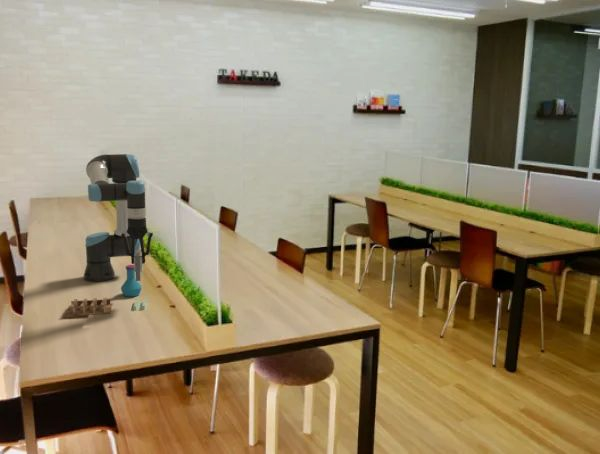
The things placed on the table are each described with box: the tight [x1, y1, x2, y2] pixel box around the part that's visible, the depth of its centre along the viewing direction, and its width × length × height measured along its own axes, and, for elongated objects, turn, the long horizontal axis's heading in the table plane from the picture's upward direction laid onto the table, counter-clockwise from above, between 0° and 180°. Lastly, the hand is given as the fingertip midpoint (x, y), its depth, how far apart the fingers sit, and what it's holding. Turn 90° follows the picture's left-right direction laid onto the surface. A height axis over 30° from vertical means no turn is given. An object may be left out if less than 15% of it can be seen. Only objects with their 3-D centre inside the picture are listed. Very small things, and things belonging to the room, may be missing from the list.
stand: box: [131, 298, 149, 312], centre depth 241 cm, size 11×6×3 cm, turn 12°
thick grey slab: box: [134, 249, 143, 282], centre depth 238 cm, size 10×2×11 cm, turn 12°
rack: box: [62, 297, 114, 319], centre depth 235 cm, size 13×18×4 cm
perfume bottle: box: [120, 264, 143, 298], centre depth 256 cm, size 9×9×15 cm
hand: (138, 270), depth 239 cm, fingers closed on thick grey slab, 2 cm apart
